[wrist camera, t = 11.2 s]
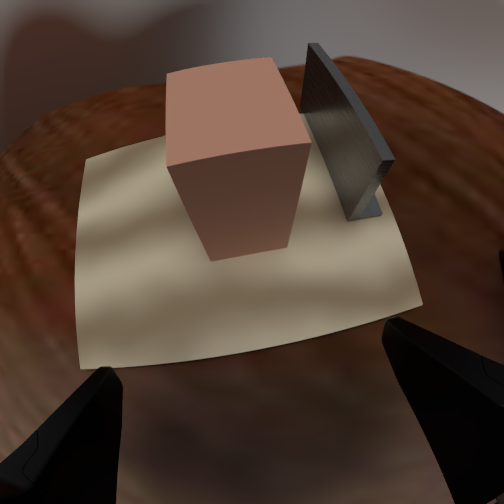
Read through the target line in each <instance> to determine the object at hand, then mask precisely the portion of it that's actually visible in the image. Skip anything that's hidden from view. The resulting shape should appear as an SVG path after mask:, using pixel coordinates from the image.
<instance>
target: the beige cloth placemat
mask: <svg viewBox="0 0 504 504" xmlns="http://www.w3.org/2000/svg"><path fill="white" fill-rule="evenodd" d="M299 115H300V117H301V119H302V121H303V123H304V126H305V128H306V130H307V133H308V135H309V137H310V140H311V142H312V143H311V148H310V153H309V157H308V162H307V166H306V171H305V175H304V179H303V184H302V188H301V192H300V197H299V201H298V205H297V209H296V214H295V218H294V222H293V226H292V230H291V234H290V238H289V242H288V246H287V248H281V249H276V250H271V251H266V252H260V253H255V254H250V255H244V256H239V257H234V258H228V259H223V260H217V261H212V262H211V261H210V259H209V257H208V255H207V253H206V251H205V249H204V247H203V245H202V243H201V240H200V238H199V236H198V234H197V232H196V230H195V228H194V226H193V224H192V222H191V220H190V217H189V215H188V213H187V211H186V209H185V207H184V205H183V202H182V200H181V198H180V196H179V194H178V192H177V189H176V187H175V185H174V183H173V181H172V178H171V176H170V174H169V172H168V169H167V167H166V136H163V137H159V138H155V139H151V140H147V141H144V142H140V143H137V144H133V145H130V146H126V147H123V148H120V149H116V150H113V151H110V152H107V153H104V154H101V155H98V156H95V157H92V158H89V159H86V164H85V169H84V175H83V182H82V188H81V196H80V204H79V213H78V223H77V236H76V254H75V311H76V329H77V342H78V352H79V361H80V368H81V369H98V368H99V367H102V366H110V367H112V368H121V367H135V366H147V365H157V364H167V363H175V362H184V361H191V360H199V359H206V358H213V357H219V356H225V355H231V354H237V353H243V352H248V351H254V350H259V349H264V348H269V347H274V346H279V345H283V344H288V343H292V342H297V341H301V340H305V339H310V338H314V337H318V336H322V335H326V334H330V333H334V332H337V331H341V330H345V329H348V328H352V327H356V326H359V325H362V324H366V323H369V322H373V321H376V320H379V319H382V318H386V317H389V316H392V315H395V314H398V313H401V312H404V311H407V310H410V309H413V308H416V307H418V306H421V305H423V303H422V299H421V296H420V292H419V289H418V285H417V282H416V279H415V275H414V272H413V269H412V266H411V263H410V260H409V257H408V254H407V251H406V248H405V245H404V242H403V240H402V237H401V234H400V231H399V229H398V226H397V223H396V221H395V218H394V216H393V213H392V211H391V208H390V206H389V204H388V201H387V199H386V196H385V194H384V192H383V190H382V187H381V185H379V187H378V189H377V190H376V192H375V196H376V198H377V201H378V203H379V205H380V208H381V210H382V213H383V214H382V215H381V216H378V217H373V218H367V219H361V220H355V221H349V222H347V220H346V217H345V214H344V211H343V209H342V206H341V203H340V200H339V198H338V195H337V192H336V190H335V187H334V184H333V182H332V179H331V177H330V174H329V172H328V169H327V167H326V164H325V162H324V159H323V157H322V155H321V152H320V150H319V148H318V145H317V143H316V141H315V138H314V136H313V134H312V131H311V129H310V127H309V125H308V123H307V120H306V118H305V116H304V114H299Z"/></svg>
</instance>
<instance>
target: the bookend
mask: <svg viewBox="0 0 504 504" xmlns="http://www.w3.org/2000/svg"><path fill="white" fill-rule="evenodd" d="M300 108H301V110H302V112H303V114H304V116H305V118H306V120H307V123H308V125H309V127H310V129H311V131H312V134H313V136H314V138H315V141H316V143H317V145H318V148H319V150H320V152H321V155H322V157H323V159H324V162H325V164H326V167H327V169H328V172H329V174H330V177H331V179H332V182H333V184H334V187H335V190H336V192H337V195H338V198H339V200H340V203H341V206H342V209H343V211H344V214H345V217H346V220H347V222H349V221H355V220H361V219H367V218H373V217H378V216H381V215H382V214H383V213H382V210H381V208H380V205H379V203H378V201H377V198H376V196H375V192H376V190H377V189H378V187H379V185H380V184H381V182H382V181H383V179H384V177H385V176H386V174H387V172H388V171H389V169H390V168H391V166H392V164H393V163H394V161H395V158H394V156H393V155H392V153H391V151H390V149H389V147H388V145H387V144H386V142H385V140H384V138H383V136H382V135H381V133H380V131H379V130H378V128H377V126H376V125H375V123H374V121H373V120H372V118H371V116H370V115H369V113H368V112H367V110H366V108H365V107H364V105H363V104H362V102H361V101H360V99H359V98H358V96H357V95H356V93H355V92H354V90H353V89H352V87H351V86H350V84H349V83H348V82H347V80H346V79H345V77H344V76H343V75H342V73H341V72H340V71H339V69H338V68H337V67H336V65H335V64H334V63H333V61H332V60H331V59H330V57H329V56H328V55H327V54H326V52H325V51H324V50H323V49H322V47H321V46H320V45H319V44H318V43H308V49H307V57H306V65H305V73H304V81H303V88H302V96H301V103H300Z"/></svg>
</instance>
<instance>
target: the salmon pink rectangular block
mask: <svg viewBox="0 0 504 504" xmlns="http://www.w3.org/2000/svg"><path fill="white" fill-rule="evenodd" d="M311 143H312V142H311V140H310V137H309V135H308V133H307V130H306V128H305V126H304V123H303V121H302V119H301V117H300V115H299V112H298V110H297V108H296V106H295V104H294V102H293V99H292V97H291V95H290V93H289V91H288V89H287V87H286V85H285V83H284V81H283V79H282V77H281V75H280V73H279V71H278V69H277V67H276V65H275V63H274V61H273V59H272V58H271V57H269V58H268V57H267V58H257V59H247V60H238V61H231V62H224V63H217V64H211V65H206V66H200V67H195V68H190V69H186V70H181V71H177V72H173V73H168V74H167V86H166V167H167V169H168V172H169V174H170V176H171V178H172V181H173V183H174V185H175V187H176V189H177V192H178V194H179V196H180V198H181V200H182V202H183V205H184V207H185V209H186V211H187V213H188V215H189V217H190V220H191V222H192V224H193V226H194V228H195V230H196V232H197V234H198V236H199V238H200V240H201V243H202V245H203V247H204V249H205V251H206V253H207V255H208V257H209V259H210V261H211V262H212V261H217V260H223V259H228V258H234V257H239V256H244V255H250V254H255V253H260V252H266V251H271V250H276V249H281V248H287V246H288V242H289V238H290V234H291V230H292V226H293V222H294V218H295V214H296V209H297V205H298V201H299V197H300V192H301V188H302V184H303V179H304V175H305V171H306V166H307V162H308V157H309V153H310V148H311Z"/></svg>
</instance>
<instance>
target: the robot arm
mask: <svg viewBox="0 0 504 504" xmlns="http://www.w3.org/2000/svg"><path fill="white" fill-rule="evenodd" d="M382 344H383V346H384V349H385V351H386V354H387V356H388V358H389V361H390V363H391V366H392V368H393V371H394V374H395V376H396V378H397V381H398V383H399V385H400V387H401V388H402V390H403V392H404V394H405V396H406V398H407V400H408V402H409V404H410V406H411V408H412V410H413V412H414V414H415V416H416V418H417V420H418V422H419V424H420V426H421V428H422V430H423V432H424V434H425V436H426V438H427V440H428V442H429V445H430V447H431V449H432V451H433V453H434V455H435V458H436V460H437V462H438V464H439V466H440V469H441V471H442V473H443V476H444V478H445V481H446V483H447V485H448V488H449V490H450V493H451V495H452V498H453V500H454V503H455V504H487V503H488V502H490V501H492V500H493V499H495V498H496V500H497V502H496V503H494V504H504V365H502V364H499V363H497V362H495V361H493V360H490V359H488V358H486V357H484V356H482V355H481V356H480V355H479V354H477V353H475V352H473V351H471V350H469V349H467V348H464V347H462V346H460V345H458V344H456V343H454V342H451V341H449V340H447V339H445V338H443V337H441V336H439V335H436V334H434V333H432V332H430V331H428V330H426V329H424V328H421V327H419V326H417V325H415V324H413V323H411V322H408V321H406V320H404V319H402V318H400V317H397V316H395V317H391V318H388V319H386V320H385V322H384V328H383V334H382ZM122 400H123V385H122V382H121V381H120V379H119V377H118V376H117V374H116V373H115V371H114V369H113V368H112V367H110V366H102V367H99V368H98V369H97V370H96V371H95V372H94V373H93V374H92V375H91V376H90V377H89V378H88V379H87V380H86V381H85V382H84V383H83V384H82V385H81V386H80V387H79V388H78V389H77V390H76V391H75V392H74V393H73V394H72V395H71V396H70V397H69V398H68V399H67V400H66V401H65V402H64V403H63V404H62V405H61V406H60V407H59V408H58V409H57V410H56V411H55V412H54V413H53V414H52V415H51V416H50V417H49V418H48V419H47V420H46V421H45V422H44V423H43V424H42V425H41V426H40V427H39V428H38V430H36V431H35V432H34V433H33V434H32V435H31V436H30V437H29V438H28V439H27V440H26V441H25V442H24V443H23V444H22V445H21V446H19V447H18V448H17V449H16V450H15V451H14V452H13V453H11V454H10V455H9V456H8V457H7V458H6V459H4V460H3V461H2V462H1V463H0V504H116V490H117V473H118V460H119V449H120V439H121V430H122Z"/></svg>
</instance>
